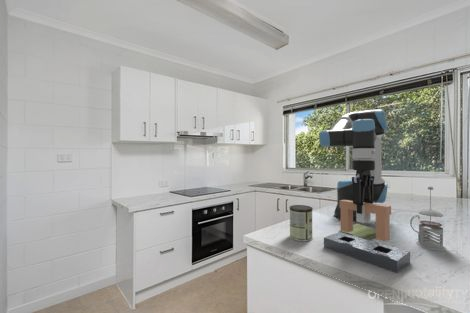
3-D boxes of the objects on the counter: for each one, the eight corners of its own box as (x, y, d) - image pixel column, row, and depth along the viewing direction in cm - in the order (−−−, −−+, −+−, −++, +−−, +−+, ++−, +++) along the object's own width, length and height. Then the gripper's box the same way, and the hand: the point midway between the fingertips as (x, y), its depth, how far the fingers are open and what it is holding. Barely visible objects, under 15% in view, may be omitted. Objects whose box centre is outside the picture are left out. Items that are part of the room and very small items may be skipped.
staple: (339, 230, 92) (339, 200, 93) (344, 228, 95) (344, 199, 95) (386, 241, 79) (386, 207, 79) (391, 239, 81) (391, 206, 81)
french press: (449, 252, 89) (449, 188, 89) (412, 246, 95) (411, 186, 95) (443, 244, 97) (443, 186, 97) (409, 239, 103) (409, 184, 103)
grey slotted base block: (323, 247, 94) (323, 237, 94) (339, 240, 101) (339, 231, 101) (397, 273, 73) (397, 260, 73) (410, 262, 80) (410, 251, 80)
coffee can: (290, 232, 112) (290, 204, 112) (312, 235, 109) (312, 205, 109) (288, 239, 102) (288, 208, 102) (312, 242, 99) (312, 210, 99)
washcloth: (336, 234, 111) (336, 228, 111) (356, 228, 120) (356, 222, 120) (363, 243, 100) (363, 236, 100) (383, 235, 109) (383, 229, 109)
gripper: (363, 159, 79) (363, 227, 79) (383, 160, 89) (383, 219, 89) (342, 159, 85) (342, 222, 85) (363, 159, 95) (363, 215, 95)
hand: (363, 220), depth 87 cm, fingers closed on staple, 4 cm apart
